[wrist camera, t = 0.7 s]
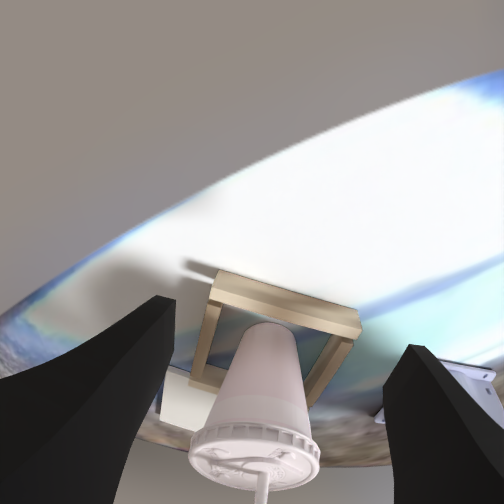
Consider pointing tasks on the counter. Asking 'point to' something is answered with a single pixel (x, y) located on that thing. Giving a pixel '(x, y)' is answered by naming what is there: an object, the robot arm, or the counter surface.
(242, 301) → the collar
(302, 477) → the smoothie
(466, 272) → the counter surface
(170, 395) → the coaster pad
